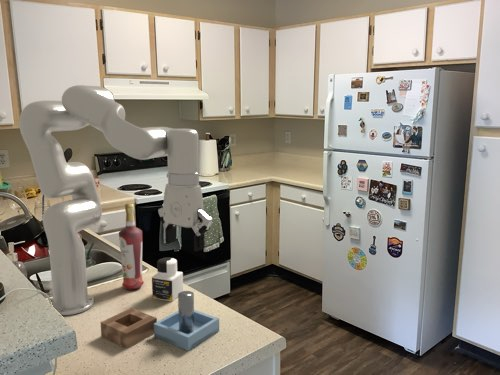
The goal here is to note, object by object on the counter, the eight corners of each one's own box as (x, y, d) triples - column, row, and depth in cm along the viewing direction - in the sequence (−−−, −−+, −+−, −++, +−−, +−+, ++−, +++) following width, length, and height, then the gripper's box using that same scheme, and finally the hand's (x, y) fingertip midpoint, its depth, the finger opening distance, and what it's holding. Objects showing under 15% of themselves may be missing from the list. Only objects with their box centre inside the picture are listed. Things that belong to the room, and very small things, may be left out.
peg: (175, 330, 116) (174, 294, 114) (186, 324, 119) (185, 289, 117) (187, 335, 114) (186, 298, 112) (197, 328, 117) (196, 293, 115)
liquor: (149, 286, 146) (145, 203, 141) (130, 293, 141) (126, 207, 136) (135, 281, 151) (132, 200, 146) (117, 287, 146) (112, 204, 140)
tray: (154, 336, 115) (153, 323, 115) (185, 318, 125) (185, 306, 124) (188, 350, 108) (188, 337, 108) (219, 330, 118) (219, 318, 118)
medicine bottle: (152, 298, 138) (150, 261, 135) (164, 289, 144) (162, 254, 142) (172, 302, 135) (171, 264, 133) (183, 292, 142) (182, 257, 140)
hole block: (101, 336, 115) (100, 322, 114) (131, 321, 123) (131, 308, 122) (127, 348, 109) (126, 333, 109) (157, 331, 117) (156, 317, 117)
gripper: (147, 177, 111) (149, 243, 114) (200, 185, 101) (200, 257, 105) (169, 174, 117) (170, 236, 120) (220, 181, 107) (220, 248, 111)
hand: (184, 246), depth 112 cm, fingers open, 9 cm apart
